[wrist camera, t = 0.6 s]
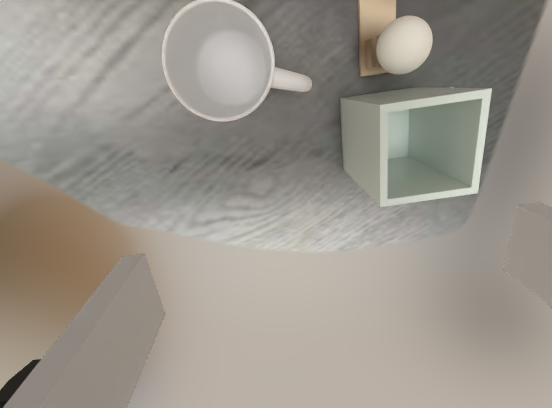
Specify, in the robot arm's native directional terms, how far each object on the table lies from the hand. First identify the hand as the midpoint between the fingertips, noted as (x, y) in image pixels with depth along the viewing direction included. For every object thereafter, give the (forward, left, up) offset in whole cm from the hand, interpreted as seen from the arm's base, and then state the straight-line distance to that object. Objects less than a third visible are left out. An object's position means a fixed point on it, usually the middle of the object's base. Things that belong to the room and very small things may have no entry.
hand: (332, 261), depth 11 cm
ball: (-8, +11, -21) cm, 25 cm away
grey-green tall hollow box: (0, +11, -25) cm, 27 cm away
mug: (-7, -3, -26) cm, 27 cm away
